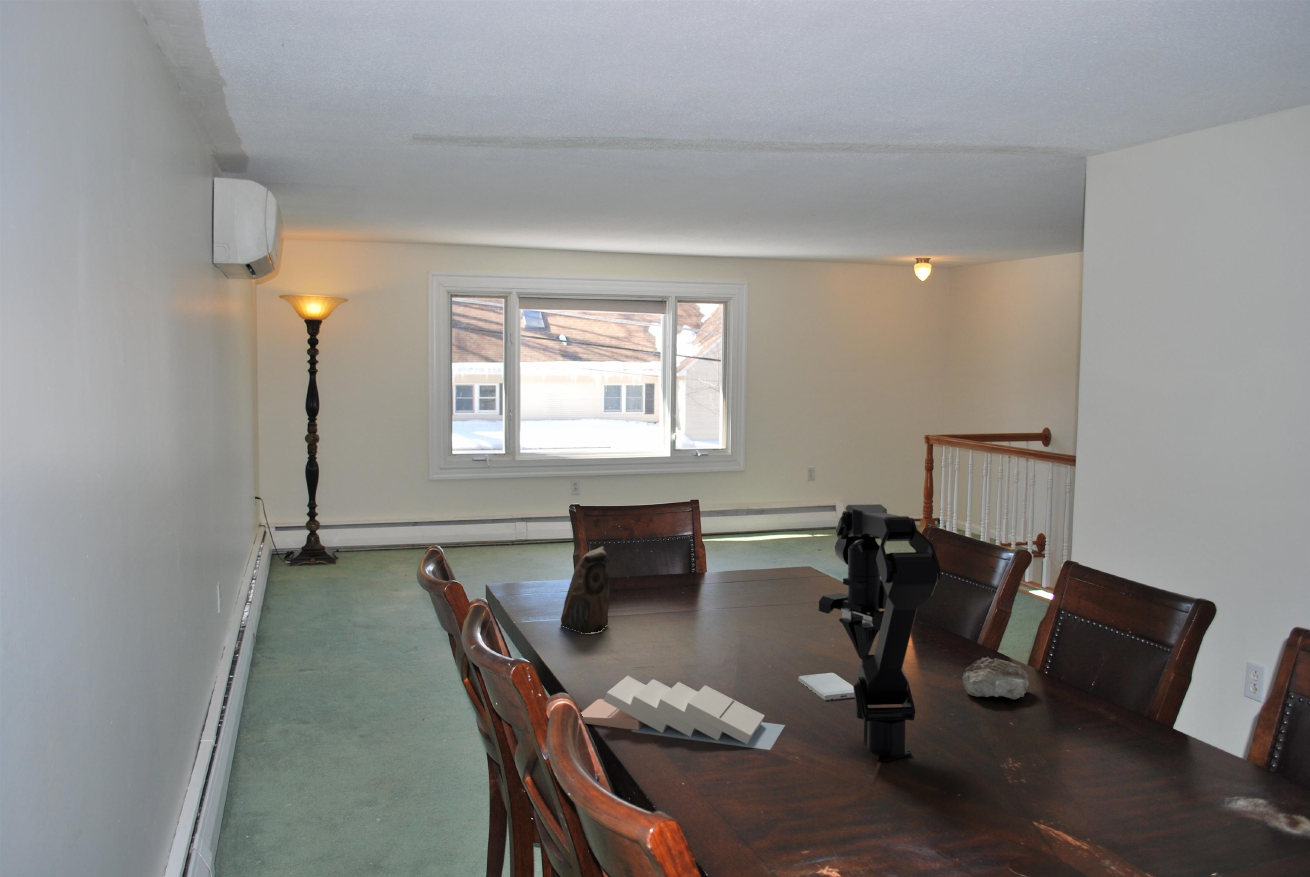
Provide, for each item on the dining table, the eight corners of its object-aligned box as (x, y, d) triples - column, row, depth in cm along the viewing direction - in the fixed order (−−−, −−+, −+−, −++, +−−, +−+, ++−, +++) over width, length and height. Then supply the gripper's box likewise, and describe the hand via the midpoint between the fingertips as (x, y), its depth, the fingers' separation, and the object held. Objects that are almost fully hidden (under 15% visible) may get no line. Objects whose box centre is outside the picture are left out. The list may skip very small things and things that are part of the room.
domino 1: (657, 701, 178) (598, 698, 182) (638, 719, 168) (576, 716, 172) (658, 711, 178) (599, 708, 182) (638, 729, 168) (577, 726, 172)
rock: (993, 695, 180) (979, 644, 185) (958, 708, 187) (945, 658, 192) (1046, 698, 187) (1031, 648, 191) (1011, 710, 194) (997, 662, 198)
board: (785, 729, 171) (785, 725, 171) (769, 754, 159) (769, 749, 159) (654, 713, 179) (654, 708, 179) (630, 735, 168) (630, 731, 168)
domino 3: (710, 708, 174) (653, 678, 178) (694, 727, 165) (633, 695, 168) (707, 717, 174) (649, 687, 178) (690, 737, 165) (630, 704, 169)
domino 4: (736, 712, 172) (678, 681, 176) (721, 731, 163) (660, 698, 167) (733, 720, 173) (674, 690, 176) (717, 740, 163) (656, 708, 167)
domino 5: (764, 715, 171) (704, 684, 174) (750, 735, 161) (687, 702, 165) (761, 724, 171) (701, 693, 175) (747, 744, 162) (684, 711, 165)
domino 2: (683, 705, 176) (627, 675, 179) (665, 723, 167) (606, 692, 170) (680, 713, 176) (624, 684, 180) (662, 732, 167) (603, 701, 170)
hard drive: (798, 675, 198) (824, 694, 186) (834, 672, 200) (862, 690, 188) (798, 683, 198) (824, 703, 186) (834, 680, 200) (862, 699, 188)
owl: (604, 620, 248) (604, 543, 246) (624, 631, 236) (624, 551, 235) (559, 625, 242) (558, 547, 241) (577, 638, 231) (576, 556, 229)
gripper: (935, 578, 167) (934, 665, 168) (862, 560, 184) (861, 640, 185) (888, 585, 162) (887, 675, 163) (817, 566, 178) (816, 648, 179)
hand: (863, 658), depth 172 cm, fingers closed
